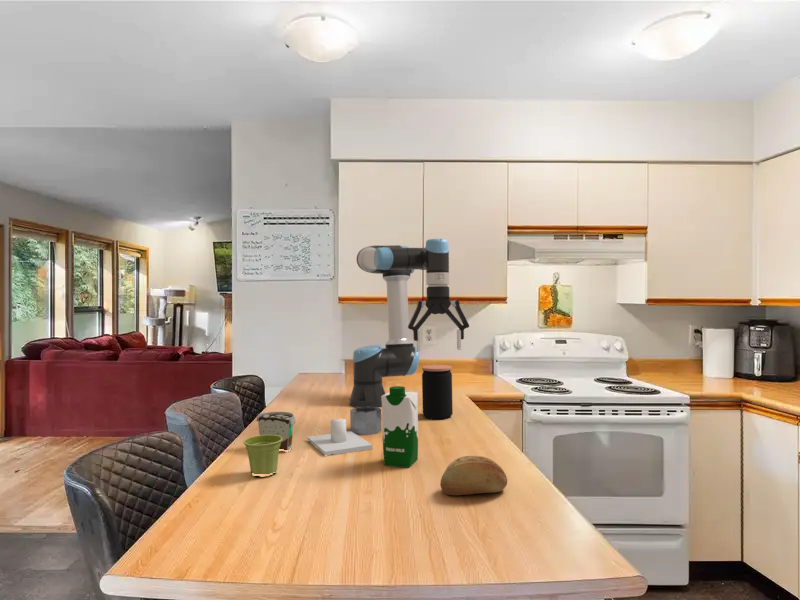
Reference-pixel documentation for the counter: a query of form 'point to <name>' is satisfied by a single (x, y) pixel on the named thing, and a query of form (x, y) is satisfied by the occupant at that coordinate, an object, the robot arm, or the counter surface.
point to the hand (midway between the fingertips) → (438, 350)
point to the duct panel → (339, 440)
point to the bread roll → (473, 476)
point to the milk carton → (400, 427)
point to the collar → (365, 420)
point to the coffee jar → (437, 392)
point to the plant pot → (263, 453)
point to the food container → (277, 426)
